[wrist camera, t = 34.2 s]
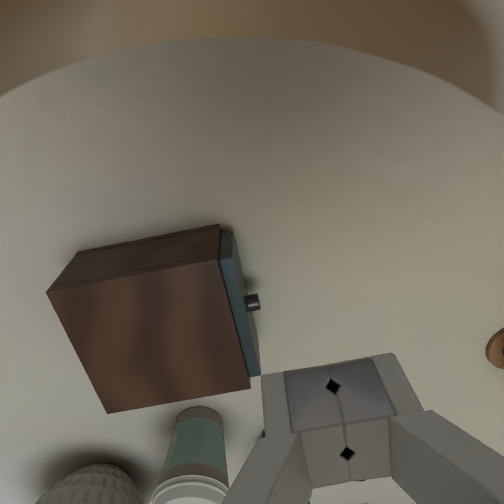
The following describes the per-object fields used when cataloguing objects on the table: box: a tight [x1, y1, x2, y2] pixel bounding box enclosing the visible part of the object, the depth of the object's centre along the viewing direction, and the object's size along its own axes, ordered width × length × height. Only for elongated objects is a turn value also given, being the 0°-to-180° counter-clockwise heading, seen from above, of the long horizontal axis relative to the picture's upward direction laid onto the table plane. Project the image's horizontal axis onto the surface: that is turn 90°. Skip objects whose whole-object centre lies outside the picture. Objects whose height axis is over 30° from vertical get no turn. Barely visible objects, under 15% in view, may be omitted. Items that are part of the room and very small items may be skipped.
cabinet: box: [46, 224, 251, 414], centre depth 39 cm, size 15×15×8 cm
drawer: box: [219, 231, 261, 377], centre depth 39 cm, size 15×13×6 cm
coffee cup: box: [152, 407, 229, 504], centre depth 46 cm, size 8×9×12 cm
